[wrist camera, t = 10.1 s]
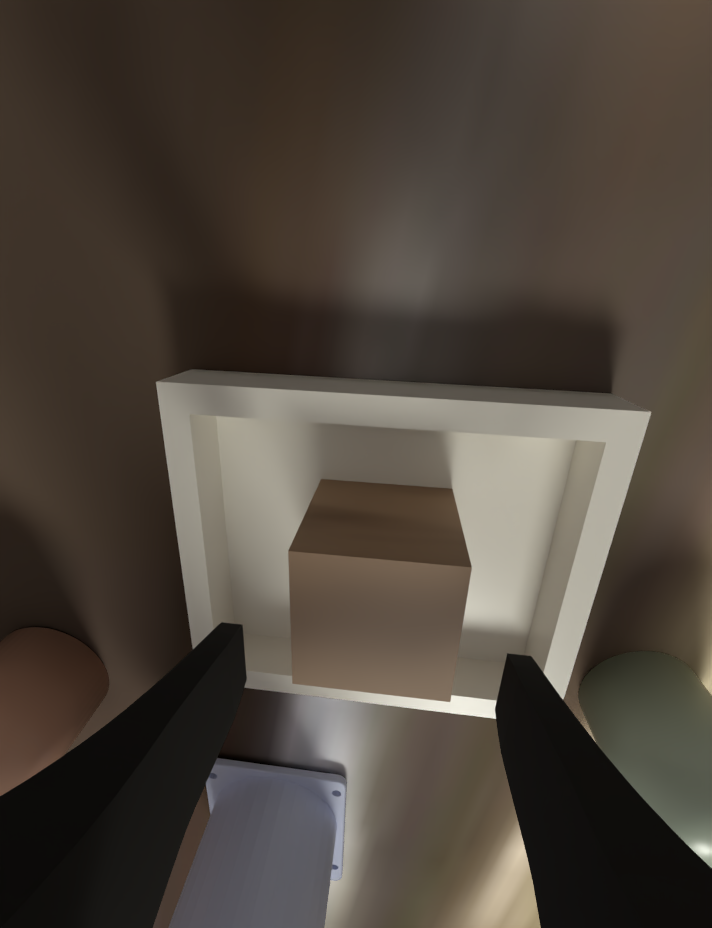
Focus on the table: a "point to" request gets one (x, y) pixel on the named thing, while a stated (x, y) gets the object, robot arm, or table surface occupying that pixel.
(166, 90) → the table surface
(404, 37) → the table surface
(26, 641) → the peach rounded cylinder
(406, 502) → the walnut cube
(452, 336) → the table surface
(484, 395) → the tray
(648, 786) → the sage rounded cylinder
